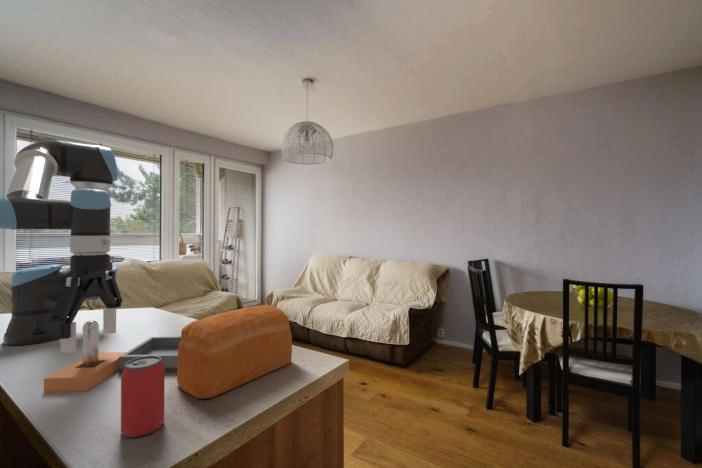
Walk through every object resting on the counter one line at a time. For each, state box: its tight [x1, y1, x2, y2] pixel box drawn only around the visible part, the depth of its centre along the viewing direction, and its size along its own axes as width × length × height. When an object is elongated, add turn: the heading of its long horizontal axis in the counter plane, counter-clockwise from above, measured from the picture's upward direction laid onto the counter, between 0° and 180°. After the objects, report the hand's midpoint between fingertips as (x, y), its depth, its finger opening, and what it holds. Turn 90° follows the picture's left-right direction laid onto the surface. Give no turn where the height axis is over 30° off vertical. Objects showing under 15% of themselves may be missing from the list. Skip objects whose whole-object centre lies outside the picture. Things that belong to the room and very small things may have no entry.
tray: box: [118, 335, 181, 374], centre depth 88 cm, size 15×15×4 cm
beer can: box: [120, 356, 165, 438], centre depth 58 cm, size 7×7×12 cm
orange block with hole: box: [43, 351, 127, 393], centre depth 78 cm, size 15×9×3 cm, turn 4°
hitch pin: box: [82, 320, 100, 368], centre depth 78 cm, size 3×3×14 cm
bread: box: [176, 304, 293, 400], centre depth 80 cm, size 14×26×16 cm, turn 144°
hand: (90, 342), depth 78 cm, fingers open, 13 cm apart
